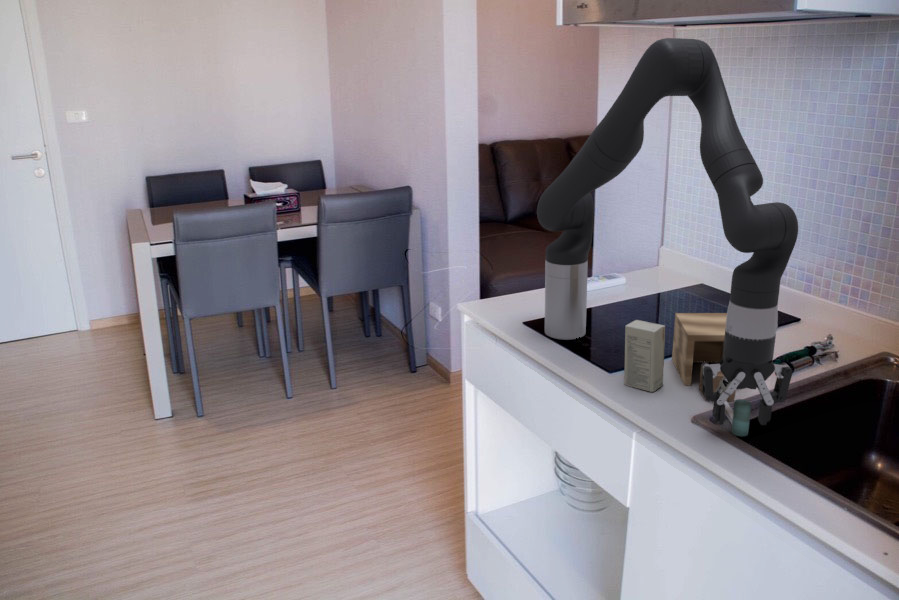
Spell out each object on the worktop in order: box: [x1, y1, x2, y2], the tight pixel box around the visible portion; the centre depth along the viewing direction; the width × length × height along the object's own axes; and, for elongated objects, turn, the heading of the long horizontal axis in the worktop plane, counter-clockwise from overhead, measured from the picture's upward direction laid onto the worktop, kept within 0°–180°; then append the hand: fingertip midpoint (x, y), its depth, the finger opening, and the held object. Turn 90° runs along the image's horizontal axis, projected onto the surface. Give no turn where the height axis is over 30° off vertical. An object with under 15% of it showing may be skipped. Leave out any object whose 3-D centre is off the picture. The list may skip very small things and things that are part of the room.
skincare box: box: [623, 319, 666, 393], centre depth 140 cm, size 6×4×12 cm
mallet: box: [698, 369, 752, 437], centre depth 131 cm, size 18×5×6 cm, turn 176°
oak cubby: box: [671, 312, 727, 386], centre depth 145 cm, size 12×10×10 cm
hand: (740, 422), depth 124 cm, fingers open, 6 cm apart
